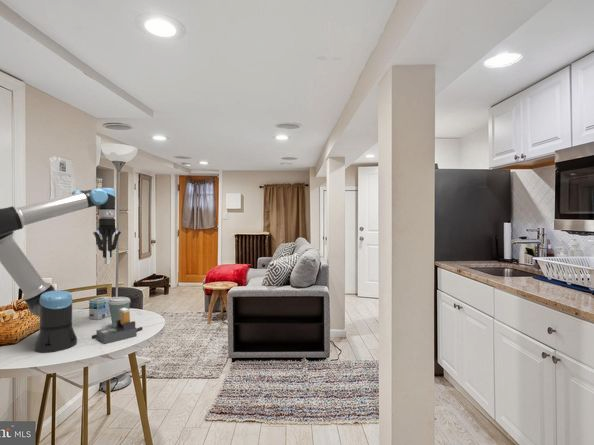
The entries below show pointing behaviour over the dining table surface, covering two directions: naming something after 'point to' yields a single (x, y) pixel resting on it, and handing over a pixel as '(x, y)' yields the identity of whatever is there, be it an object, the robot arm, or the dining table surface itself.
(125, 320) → the lever
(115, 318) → the disposable coffee cup
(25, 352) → the dining table surface
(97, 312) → the light bulb box
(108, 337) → the labelled grey housing
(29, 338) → the dining table surface
